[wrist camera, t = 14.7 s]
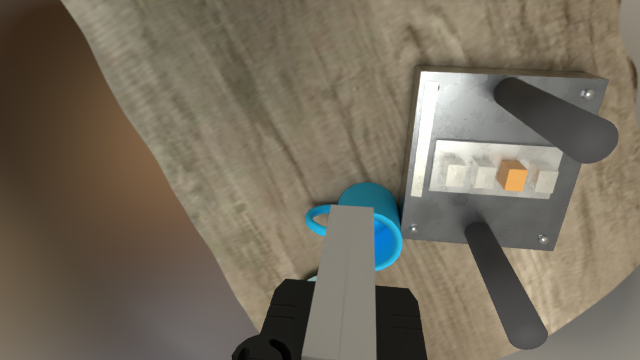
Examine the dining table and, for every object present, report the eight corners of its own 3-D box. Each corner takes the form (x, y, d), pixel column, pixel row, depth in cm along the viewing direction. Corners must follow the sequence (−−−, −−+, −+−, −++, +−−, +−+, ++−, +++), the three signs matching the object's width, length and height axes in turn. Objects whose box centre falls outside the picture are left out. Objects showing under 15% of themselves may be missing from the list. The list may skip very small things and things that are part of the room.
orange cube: (502, 160, 41) (509, 168, 39) (519, 161, 41) (528, 170, 39) (497, 181, 42) (504, 190, 40) (514, 182, 42) (522, 191, 40)
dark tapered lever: (497, 76, 39) (574, 117, 24) (528, 78, 38) (625, 120, 24) (490, 106, 40) (560, 162, 25) (521, 107, 40) (609, 165, 25)
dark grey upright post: (467, 220, 45) (512, 319, 31) (493, 222, 45) (552, 323, 31) (462, 242, 47) (504, 347, 32) (488, 244, 46) (542, 351, 32)
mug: (402, 186, 50) (408, 217, 43) (392, 239, 54) (396, 276, 46) (311, 175, 51) (301, 203, 44) (307, 227, 54) (297, 262, 47)
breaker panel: (415, 65, 44) (425, 76, 37) (583, 71, 42) (627, 84, 35) (397, 218, 52) (401, 252, 45) (536, 229, 50) (564, 266, 43)
